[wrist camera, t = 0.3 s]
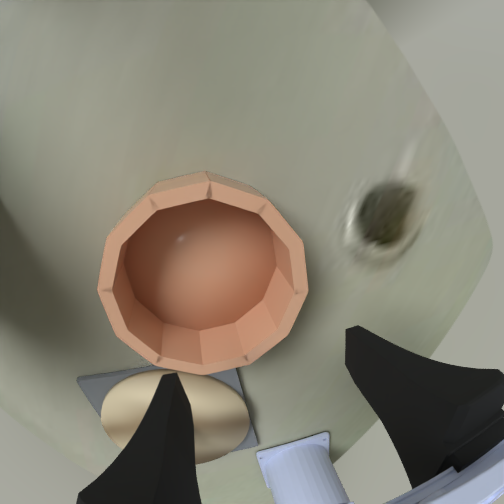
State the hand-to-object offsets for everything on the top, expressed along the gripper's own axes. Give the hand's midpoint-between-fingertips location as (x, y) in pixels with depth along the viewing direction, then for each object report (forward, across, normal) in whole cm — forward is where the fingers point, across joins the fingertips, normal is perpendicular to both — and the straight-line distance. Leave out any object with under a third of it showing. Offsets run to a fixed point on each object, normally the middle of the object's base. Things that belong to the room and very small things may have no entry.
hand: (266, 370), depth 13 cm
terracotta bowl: (+10, +2, -2) cm, 10 cm away
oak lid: (+9, +8, +12) cm, 17 cm away
